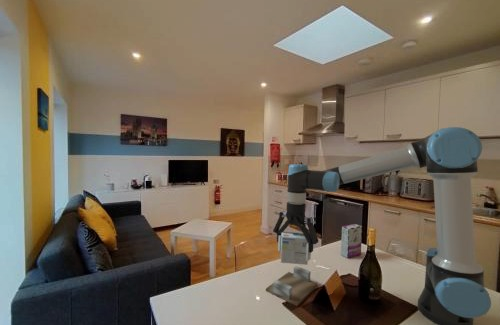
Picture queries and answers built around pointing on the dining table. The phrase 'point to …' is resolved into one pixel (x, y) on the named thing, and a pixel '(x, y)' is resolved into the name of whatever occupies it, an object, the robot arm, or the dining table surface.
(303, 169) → the robot arm
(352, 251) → the candy bar box
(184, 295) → the dining table surface
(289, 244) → the light bulb box
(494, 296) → the dining table surface
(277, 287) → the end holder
